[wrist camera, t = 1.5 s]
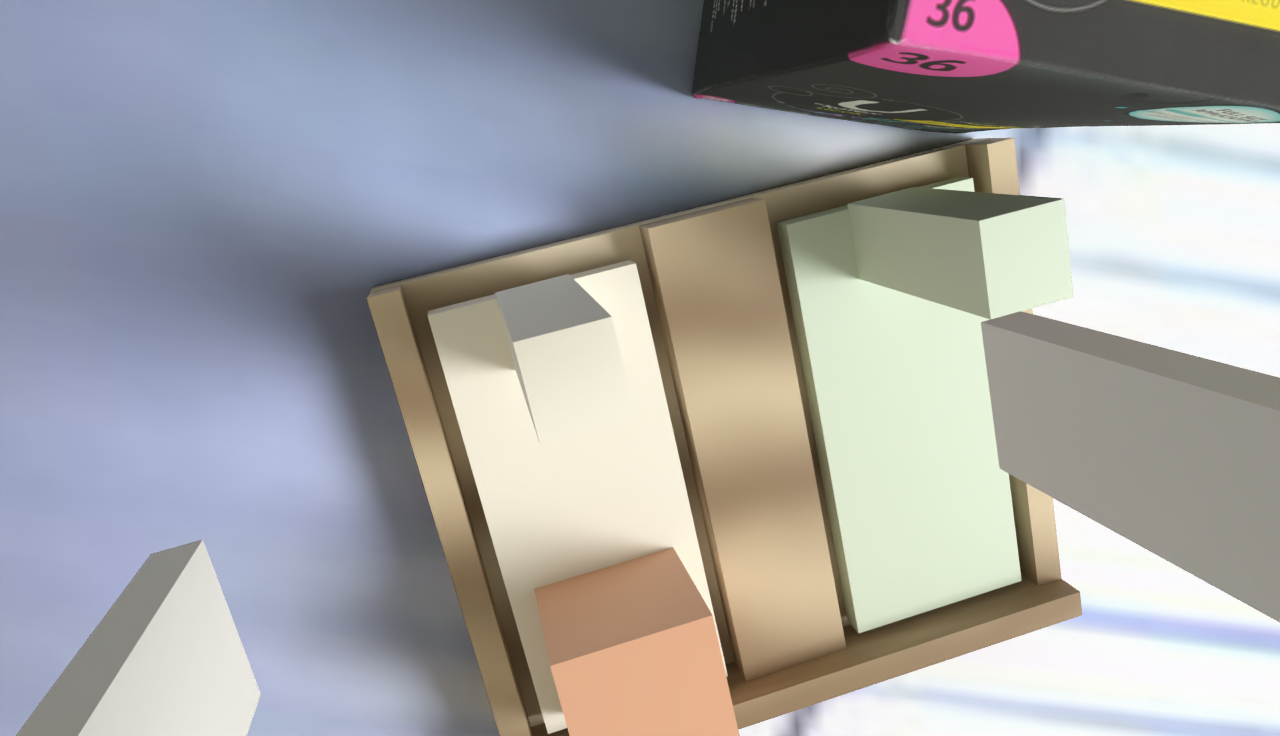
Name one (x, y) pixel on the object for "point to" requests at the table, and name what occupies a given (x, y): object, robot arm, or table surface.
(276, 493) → the table surface
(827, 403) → the pale green l-shaped bracket
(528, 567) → the strip cream
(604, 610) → the cube
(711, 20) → the tampon box
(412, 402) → the lane board
